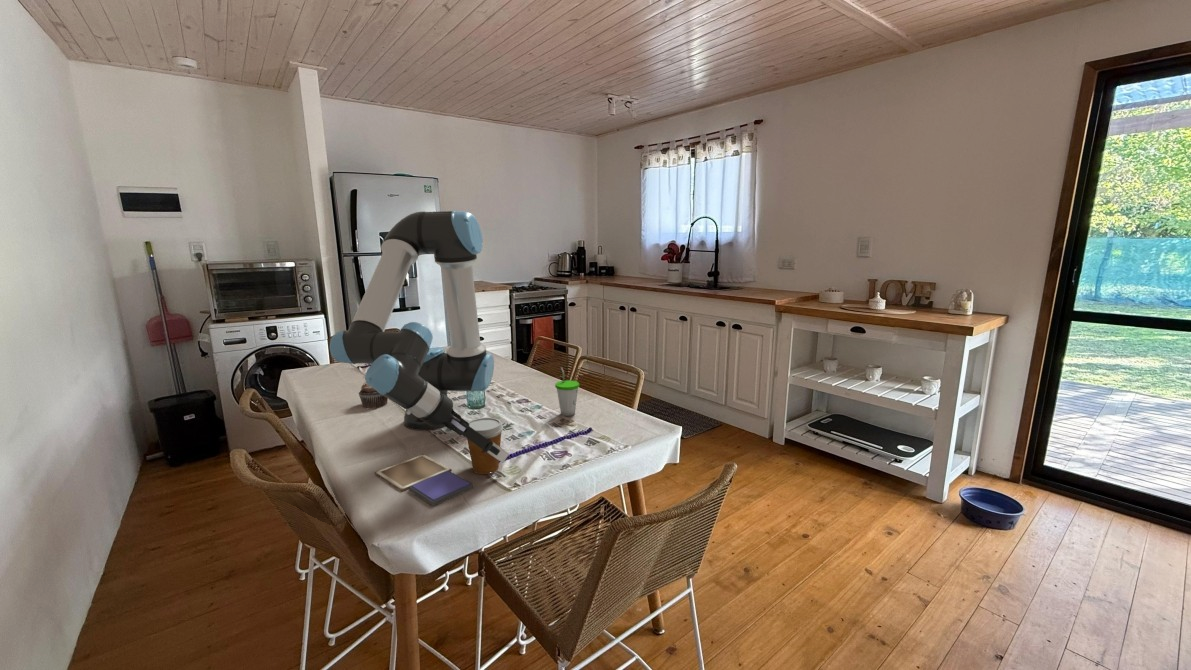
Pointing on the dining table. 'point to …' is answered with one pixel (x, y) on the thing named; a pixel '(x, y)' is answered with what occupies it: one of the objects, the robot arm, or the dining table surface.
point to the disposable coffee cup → (481, 461)
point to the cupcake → (371, 397)
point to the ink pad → (440, 487)
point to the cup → (567, 395)
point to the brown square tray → (411, 472)
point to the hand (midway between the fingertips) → (496, 451)
